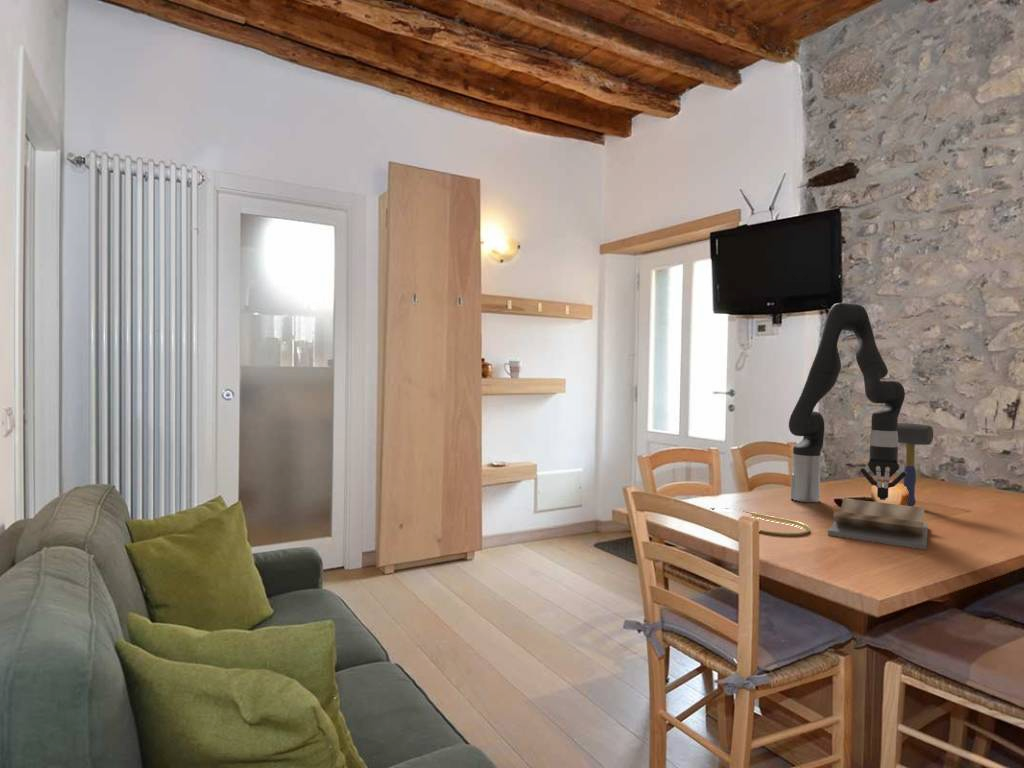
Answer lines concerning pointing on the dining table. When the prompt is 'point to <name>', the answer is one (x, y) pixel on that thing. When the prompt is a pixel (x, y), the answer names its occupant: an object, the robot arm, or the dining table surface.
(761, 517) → the serving platter
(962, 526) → the dining table surface
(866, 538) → the panel
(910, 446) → the rubber mallet
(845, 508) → the far plank
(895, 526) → the near plank
